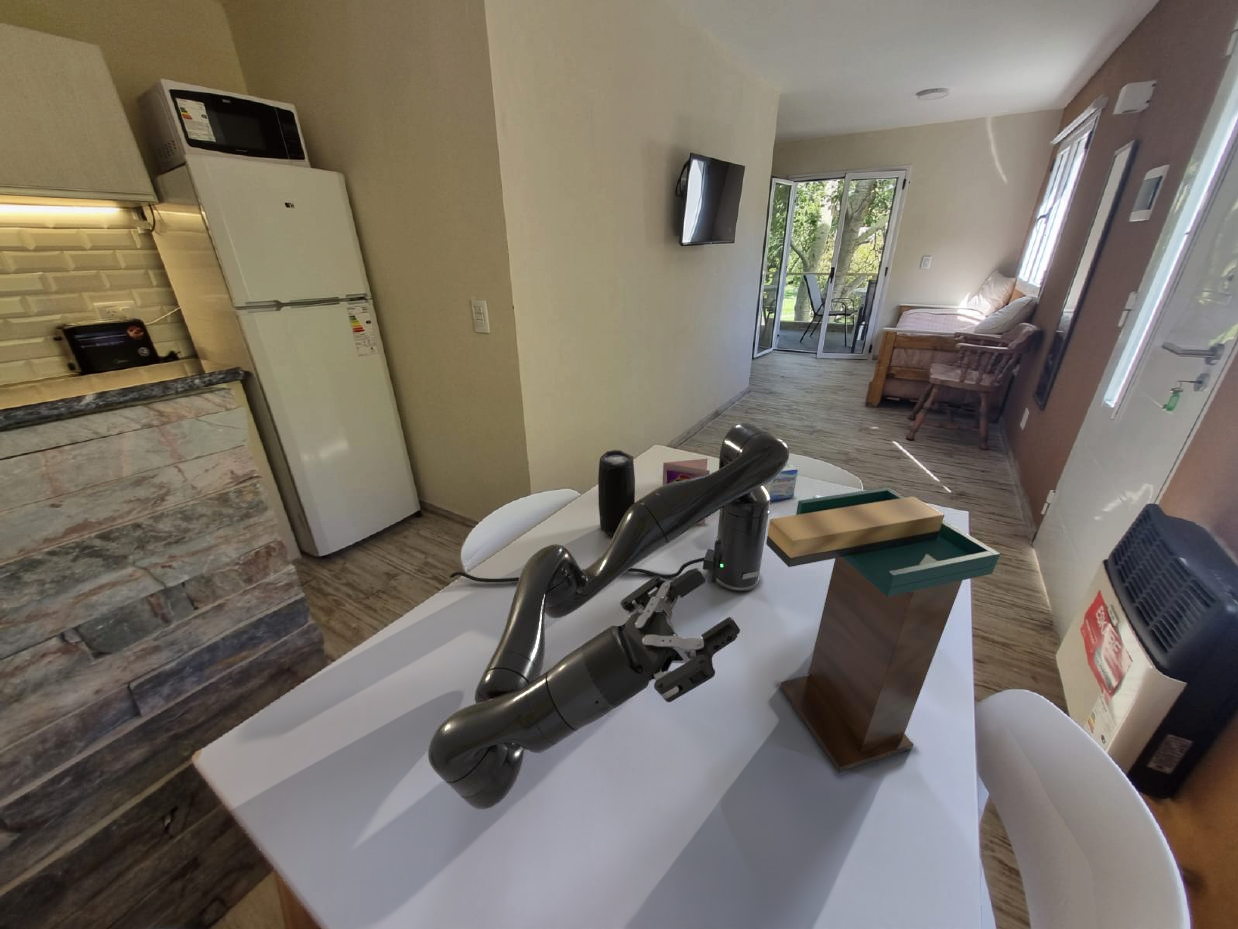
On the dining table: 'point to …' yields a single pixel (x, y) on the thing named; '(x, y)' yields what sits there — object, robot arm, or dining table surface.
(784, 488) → the medicine box
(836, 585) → the stand
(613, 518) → the portable speaker
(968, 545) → the tray
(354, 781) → the dining table surface
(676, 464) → the greeting card
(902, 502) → the eraser
